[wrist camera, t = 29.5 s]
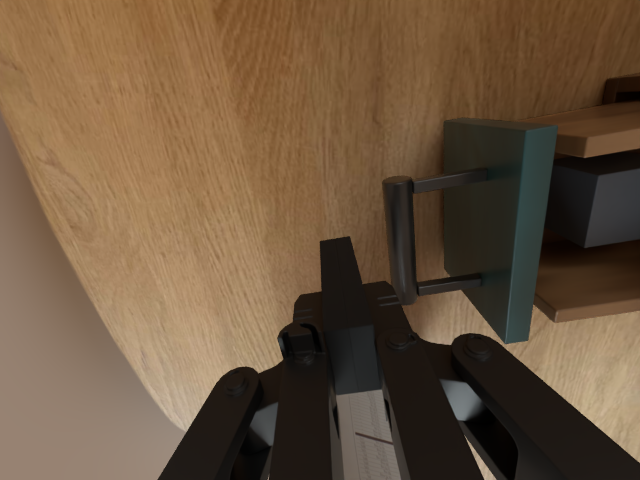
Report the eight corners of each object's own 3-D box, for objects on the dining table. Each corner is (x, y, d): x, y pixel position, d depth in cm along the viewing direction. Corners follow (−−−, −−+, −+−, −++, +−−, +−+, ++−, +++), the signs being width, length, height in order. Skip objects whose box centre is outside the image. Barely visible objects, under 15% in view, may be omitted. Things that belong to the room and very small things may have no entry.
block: (597, 211, 20) (661, 236, 16) (534, 222, 20) (584, 248, 16) (610, 149, 18) (685, 160, 14) (541, 161, 18) (598, 175, 15)
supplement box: (284, 388, 28) (251, 723, 13) (325, 315, 25) (345, 650, 10) (374, 415, 30) (438, 738, 15) (423, 350, 27) (573, 680, 11)
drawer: (378, 279, 23) (408, 358, 16) (362, 135, 18) (393, 154, 11) (632, 239, 22) (788, 304, 15) (676, 78, 18) (925, 59, 10)
